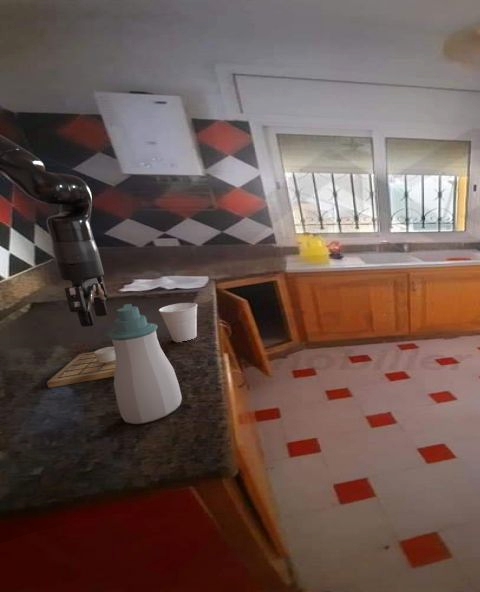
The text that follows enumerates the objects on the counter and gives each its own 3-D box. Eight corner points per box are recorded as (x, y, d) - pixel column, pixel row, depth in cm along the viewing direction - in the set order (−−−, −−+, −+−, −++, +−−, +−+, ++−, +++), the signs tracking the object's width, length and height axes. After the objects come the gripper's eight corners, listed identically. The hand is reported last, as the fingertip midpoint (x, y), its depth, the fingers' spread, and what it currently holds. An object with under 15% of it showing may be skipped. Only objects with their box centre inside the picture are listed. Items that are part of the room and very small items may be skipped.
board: (48, 388, 75) (46, 381, 74) (81, 358, 89) (79, 353, 89) (140, 371, 82) (139, 366, 82) (157, 347, 97) (156, 342, 96)
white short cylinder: (93, 364, 83) (91, 355, 82) (101, 357, 86) (98, 348, 86) (117, 361, 85) (114, 351, 84) (123, 354, 89) (120, 345, 88)
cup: (171, 335, 105) (164, 304, 102) (206, 331, 109) (200, 301, 106) (161, 347, 97) (153, 313, 94) (199, 342, 100) (193, 309, 97)
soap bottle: (179, 392, 73) (158, 298, 67) (185, 412, 66) (162, 309, 60) (122, 409, 67) (93, 308, 61) (122, 433, 60) (89, 321, 54)
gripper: (71, 255, 82) (88, 314, 87) (40, 264, 70) (61, 332, 74) (110, 254, 86) (124, 311, 90) (86, 262, 73) (103, 327, 78)
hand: (95, 320), depth 82 cm, fingers open, 8 cm apart
